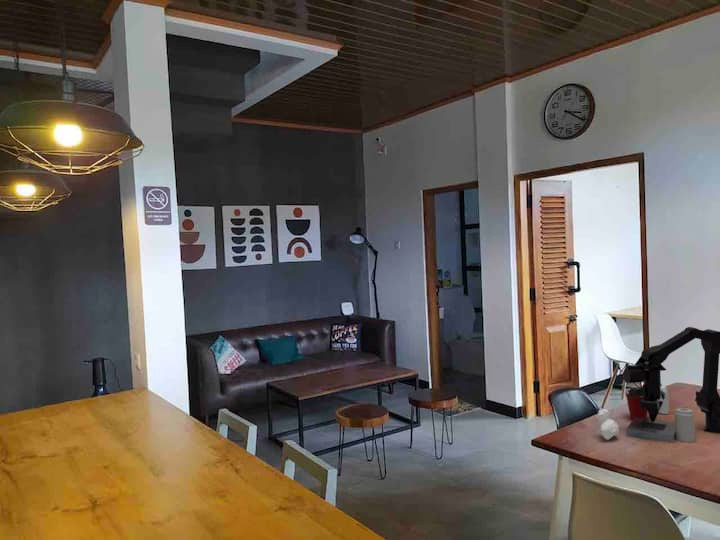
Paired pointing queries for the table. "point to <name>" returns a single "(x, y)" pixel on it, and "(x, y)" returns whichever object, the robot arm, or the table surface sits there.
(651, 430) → the jig plate
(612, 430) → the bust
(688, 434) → the beverage can
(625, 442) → the table surface
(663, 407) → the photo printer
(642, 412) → the plastic cup
